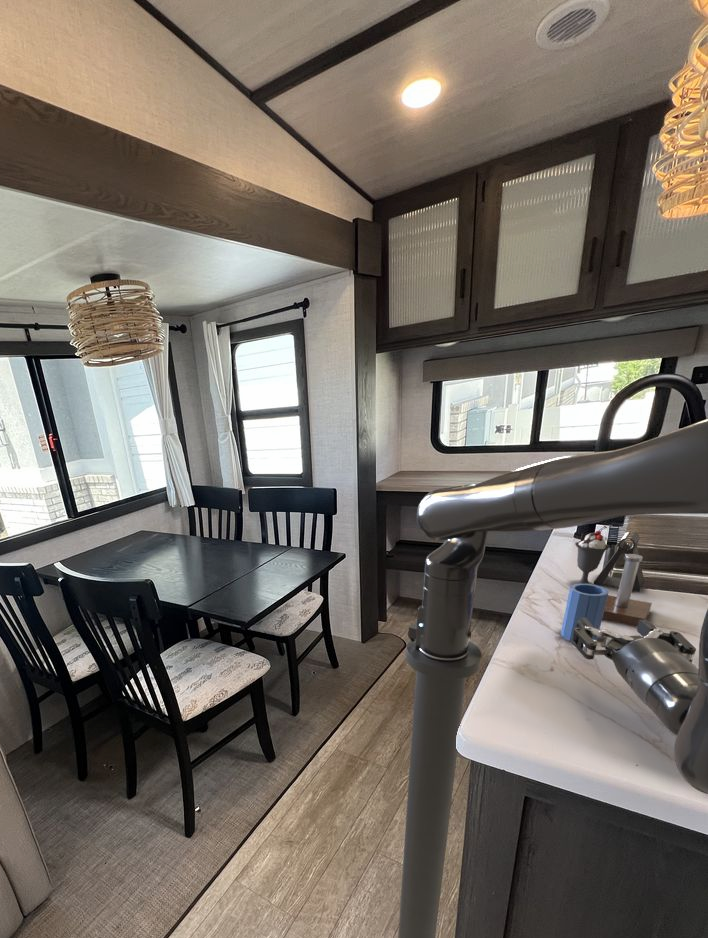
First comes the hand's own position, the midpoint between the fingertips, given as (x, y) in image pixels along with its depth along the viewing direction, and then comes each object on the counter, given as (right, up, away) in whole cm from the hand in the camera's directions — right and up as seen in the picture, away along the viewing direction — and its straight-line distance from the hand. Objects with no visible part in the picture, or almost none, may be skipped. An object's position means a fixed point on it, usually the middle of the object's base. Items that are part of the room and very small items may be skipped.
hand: (610, 623), depth 78 cm
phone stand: (+27, +8, +33) cm, 43 cm away
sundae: (+19, +7, +33) cm, 39 cm away
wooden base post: (+16, +1, +19) cm, 25 cm away
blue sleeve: (+3, -3, +12) cm, 13 cm away
